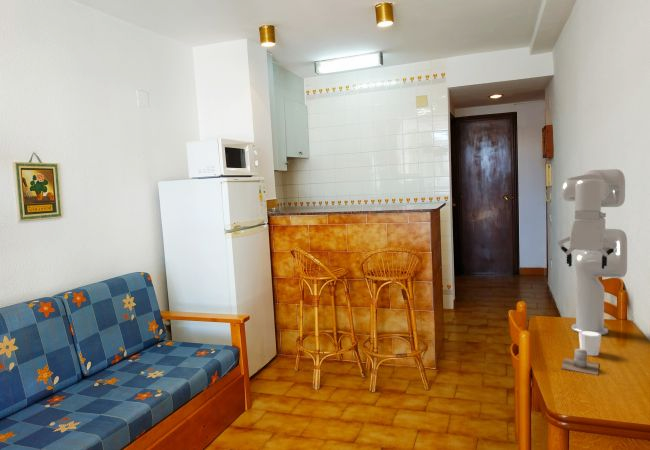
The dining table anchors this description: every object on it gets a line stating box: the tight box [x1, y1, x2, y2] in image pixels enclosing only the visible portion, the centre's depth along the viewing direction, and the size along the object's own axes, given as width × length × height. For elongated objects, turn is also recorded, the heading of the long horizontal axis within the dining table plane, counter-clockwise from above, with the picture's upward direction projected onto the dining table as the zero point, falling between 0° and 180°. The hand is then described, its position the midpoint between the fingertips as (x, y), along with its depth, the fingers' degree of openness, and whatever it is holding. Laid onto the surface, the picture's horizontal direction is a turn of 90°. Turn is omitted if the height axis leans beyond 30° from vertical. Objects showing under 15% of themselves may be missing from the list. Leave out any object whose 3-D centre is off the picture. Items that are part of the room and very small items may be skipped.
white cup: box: [578, 331, 602, 357], centre depth 158 cm, size 7×7×7 cm
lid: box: [561, 348, 600, 376], centre depth 147 cm, size 10×10×6 cm
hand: (586, 267), depth 153 cm, fingers open, 9 cm apart
